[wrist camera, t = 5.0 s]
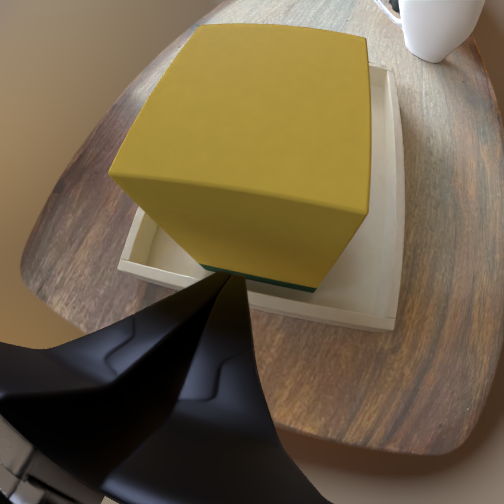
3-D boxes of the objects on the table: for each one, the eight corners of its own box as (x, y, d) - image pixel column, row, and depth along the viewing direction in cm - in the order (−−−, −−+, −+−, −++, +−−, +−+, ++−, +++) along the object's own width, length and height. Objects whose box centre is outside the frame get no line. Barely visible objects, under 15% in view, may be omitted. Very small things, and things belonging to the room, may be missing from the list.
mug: (449, 49, 21) (473, -19, 10) (461, 86, 19) (498, 5, 8) (357, 17, 23) (366, -59, 12) (352, 46, 21) (364, -51, 10)
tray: (377, 332, 14) (394, 331, 12) (137, 279, 16) (116, 269, 14) (386, 89, 19) (393, 68, 17) (223, 66, 21) (218, 44, 19)
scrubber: (313, 293, 15) (369, 215, 5) (204, 270, 16) (105, 174, 6) (332, 178, 17) (366, 36, 7) (236, 162, 18) (199, 24, 8)
